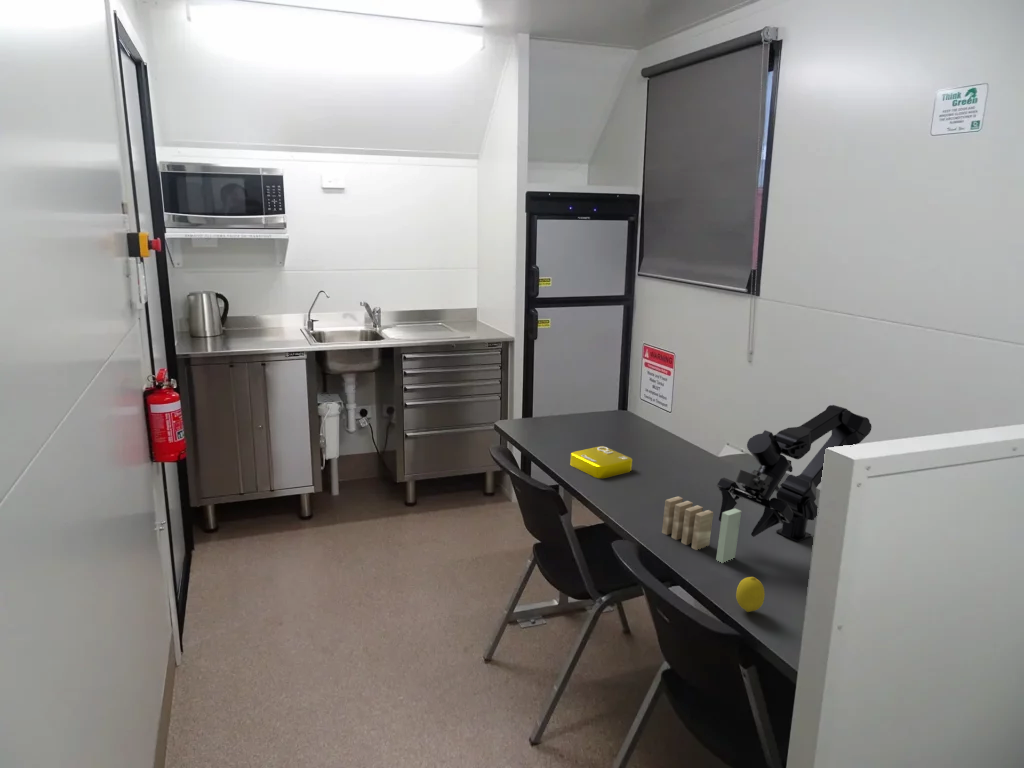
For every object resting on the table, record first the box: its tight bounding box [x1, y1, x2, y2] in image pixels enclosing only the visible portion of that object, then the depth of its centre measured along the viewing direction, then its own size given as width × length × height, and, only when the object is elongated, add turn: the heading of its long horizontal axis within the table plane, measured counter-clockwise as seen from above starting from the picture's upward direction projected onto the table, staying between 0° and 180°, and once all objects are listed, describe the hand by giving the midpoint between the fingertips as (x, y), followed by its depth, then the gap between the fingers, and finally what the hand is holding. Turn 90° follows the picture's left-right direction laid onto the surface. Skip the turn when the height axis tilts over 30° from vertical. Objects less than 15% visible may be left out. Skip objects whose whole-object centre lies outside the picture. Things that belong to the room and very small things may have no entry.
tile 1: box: [691, 509, 714, 551], centre depth 174 cm, size 2×5×9 cm, turn 126°
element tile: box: [569, 445, 633, 479], centre depth 224 cm, size 15×15×5 cm
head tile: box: [715, 507, 742, 564], centre depth 167 cm, size 2×5×12 cm, turn 126°
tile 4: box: [661, 495, 684, 536], centre depth 181 cm, size 2×5×9 cm, turn 127°
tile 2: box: [680, 504, 704, 546], centre depth 176 cm, size 2×5×9 cm, turn 126°
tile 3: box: [671, 500, 693, 541], centre depth 179 cm, size 2×5×9 cm, turn 126°
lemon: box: [735, 576, 766, 613], centre depth 146 cm, size 6×6×8 cm
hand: (735, 528), depth 168 cm, fingers open, 9 cm apart
